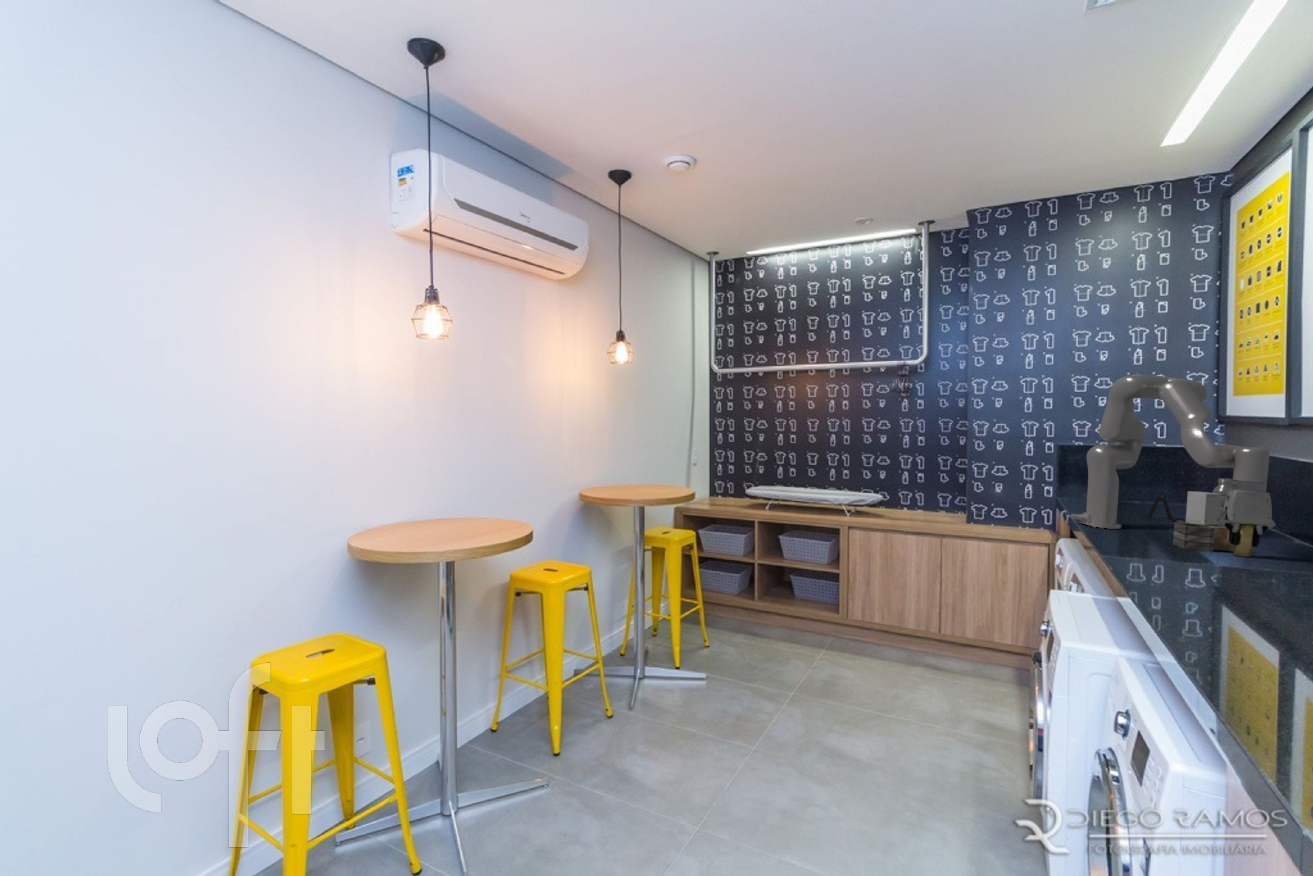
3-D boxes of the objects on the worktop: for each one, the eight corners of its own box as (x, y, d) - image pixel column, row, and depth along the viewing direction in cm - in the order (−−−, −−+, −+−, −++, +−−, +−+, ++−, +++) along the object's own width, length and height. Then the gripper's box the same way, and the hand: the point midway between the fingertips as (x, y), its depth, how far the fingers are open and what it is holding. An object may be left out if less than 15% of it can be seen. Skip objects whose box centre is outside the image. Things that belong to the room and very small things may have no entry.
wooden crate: (1183, 548, 192) (1185, 526, 192) (1172, 543, 199) (1174, 522, 199) (1238, 553, 188) (1239, 530, 187) (1224, 548, 195) (1226, 526, 194)
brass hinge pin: (1236, 556, 183) (1240, 517, 183) (1227, 552, 188) (1231, 515, 187) (1257, 558, 182) (1261, 519, 181) (1248, 554, 186) (1251, 516, 186)
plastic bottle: (1208, 528, 231) (1212, 477, 230) (1232, 531, 226) (1236, 478, 225) (1209, 530, 226) (1213, 478, 225) (1234, 533, 221) (1238, 480, 220)
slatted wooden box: (1183, 549, 192) (1185, 526, 192) (1164, 540, 205) (1165, 519, 205) (1212, 551, 190) (1214, 528, 189) (1191, 542, 203) (1193, 521, 202)
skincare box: (1203, 536, 214) (1206, 493, 213) (1182, 532, 221) (1185, 491, 220) (1219, 535, 216) (1223, 493, 216) (1198, 532, 223) (1202, 490, 222)
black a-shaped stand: (1174, 520, 247) (1176, 491, 246) (1173, 522, 243) (1176, 493, 242) (1146, 517, 253) (1148, 489, 253) (1145, 518, 249) (1147, 490, 248)
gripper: (1221, 486, 183) (1216, 544, 184) (1292, 490, 177) (1286, 551, 178) (1208, 483, 190) (1203, 539, 191) (1276, 487, 184) (1270, 545, 185)
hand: (1243, 544), depth 185 cm, fingers closed on brass hinge pin, 4 cm apart
